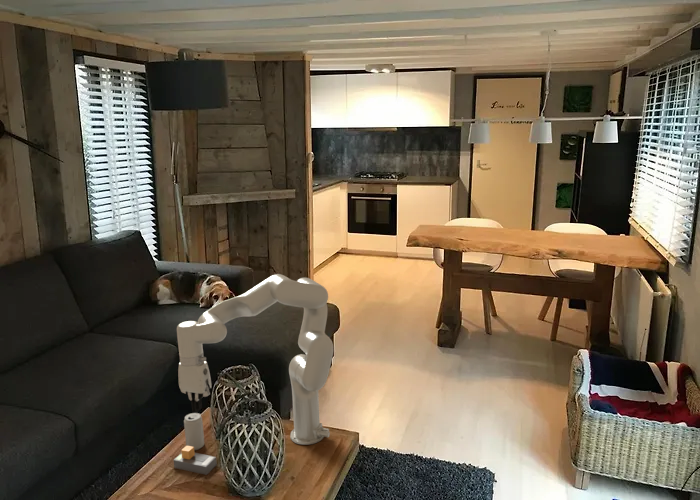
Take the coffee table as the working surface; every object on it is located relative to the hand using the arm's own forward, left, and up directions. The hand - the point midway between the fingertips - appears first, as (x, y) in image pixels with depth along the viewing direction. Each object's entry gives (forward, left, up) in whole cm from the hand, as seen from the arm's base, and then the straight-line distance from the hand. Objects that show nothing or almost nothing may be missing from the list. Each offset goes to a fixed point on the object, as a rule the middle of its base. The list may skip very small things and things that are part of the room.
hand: (197, 410), depth 190 cm
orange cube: (+5, +1, -18) cm, 18 cm away
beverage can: (+10, -10, -21) cm, 25 cm away
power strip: (+2, +1, -21) cm, 21 cm away
